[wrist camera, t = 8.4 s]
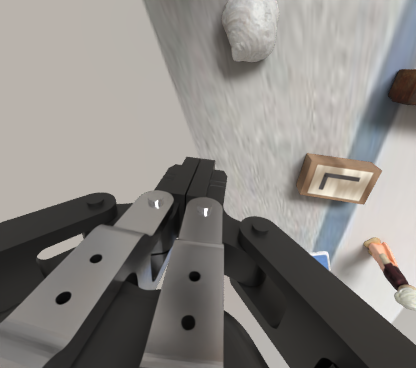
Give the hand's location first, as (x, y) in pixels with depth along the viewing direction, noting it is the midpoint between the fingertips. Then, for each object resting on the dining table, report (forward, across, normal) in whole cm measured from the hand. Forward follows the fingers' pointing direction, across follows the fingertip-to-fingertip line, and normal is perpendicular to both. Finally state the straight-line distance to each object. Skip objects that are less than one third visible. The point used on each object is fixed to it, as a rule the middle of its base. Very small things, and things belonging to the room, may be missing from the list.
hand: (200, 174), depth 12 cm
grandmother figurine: (+25, -31, +23) cm, 46 cm away
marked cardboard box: (+24, -14, +10) cm, 29 cm away
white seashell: (+26, -2, -9) cm, 28 cm away
